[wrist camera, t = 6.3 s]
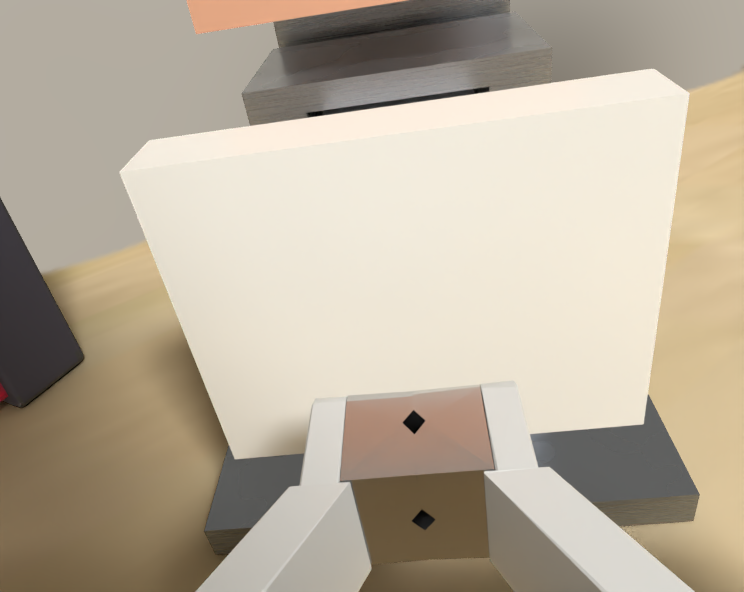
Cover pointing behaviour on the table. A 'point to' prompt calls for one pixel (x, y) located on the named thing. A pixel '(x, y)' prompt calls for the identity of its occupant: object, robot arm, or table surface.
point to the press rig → (414, 79)
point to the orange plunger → (264, 11)
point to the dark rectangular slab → (29, 324)
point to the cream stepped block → (422, 251)
